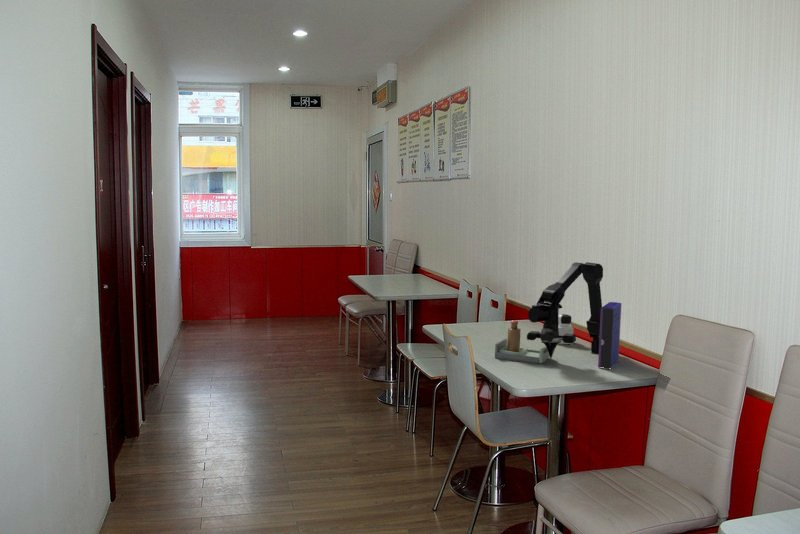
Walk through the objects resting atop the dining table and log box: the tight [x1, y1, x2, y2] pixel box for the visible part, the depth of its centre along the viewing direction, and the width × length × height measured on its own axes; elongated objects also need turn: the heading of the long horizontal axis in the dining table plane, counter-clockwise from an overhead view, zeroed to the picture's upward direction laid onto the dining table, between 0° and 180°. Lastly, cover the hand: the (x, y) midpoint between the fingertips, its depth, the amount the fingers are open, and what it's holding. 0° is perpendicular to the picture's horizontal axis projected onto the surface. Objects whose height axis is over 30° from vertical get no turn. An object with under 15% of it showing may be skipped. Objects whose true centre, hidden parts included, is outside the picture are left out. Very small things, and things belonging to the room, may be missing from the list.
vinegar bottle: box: [506, 320, 521, 352], centre depth 284 cm, size 5×5×13 cm
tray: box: [499, 345, 550, 364], centre depth 282 cm, size 19×12×5 cm, turn 62°
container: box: [558, 313, 574, 346], centre depth 312 cm, size 8×8×13 cm
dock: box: [494, 338, 540, 365], centre depth 283 cm, size 18×12×6 cm, turn 62°
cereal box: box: [597, 301, 622, 369], centre depth 274 cm, size 17×5×24 cm, turn 152°
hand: (551, 357), depth 277 cm, fingers closed
